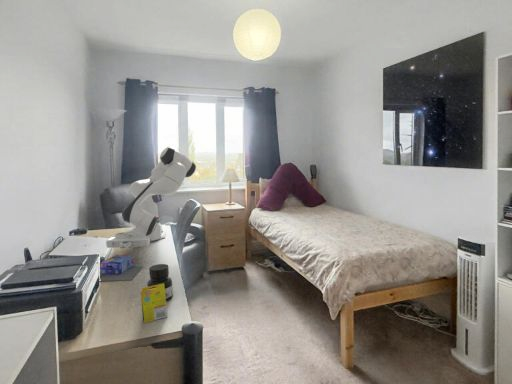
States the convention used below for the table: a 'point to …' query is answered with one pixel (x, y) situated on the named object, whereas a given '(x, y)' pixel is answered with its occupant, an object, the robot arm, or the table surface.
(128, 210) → the robot arm
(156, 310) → the crayon box
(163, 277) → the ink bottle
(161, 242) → the table surface
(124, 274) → the desk mat
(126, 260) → the ink cartridge box
